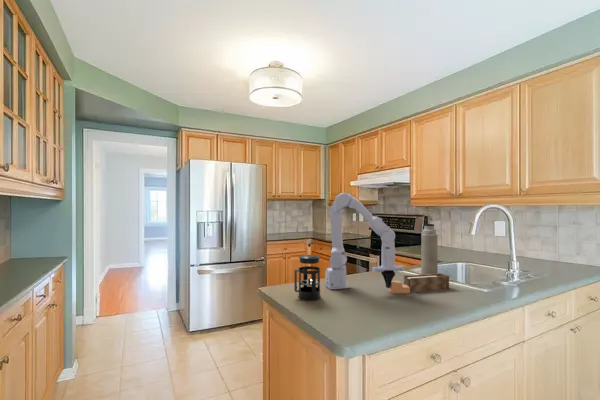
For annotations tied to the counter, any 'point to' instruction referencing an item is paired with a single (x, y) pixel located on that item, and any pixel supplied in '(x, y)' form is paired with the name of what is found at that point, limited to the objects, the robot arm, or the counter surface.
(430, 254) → the thermos bottle
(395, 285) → the peach two-level step
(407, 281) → the sliding door
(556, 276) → the counter surface
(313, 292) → the french press
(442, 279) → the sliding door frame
